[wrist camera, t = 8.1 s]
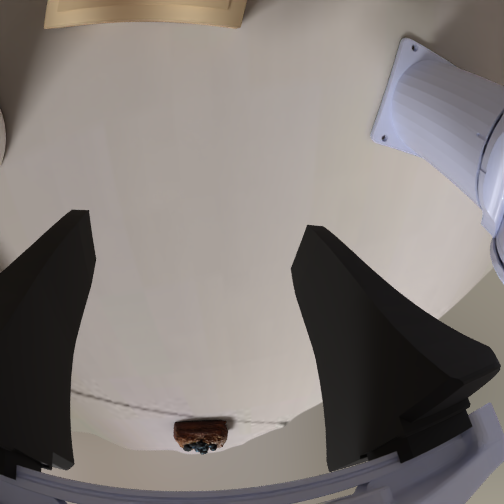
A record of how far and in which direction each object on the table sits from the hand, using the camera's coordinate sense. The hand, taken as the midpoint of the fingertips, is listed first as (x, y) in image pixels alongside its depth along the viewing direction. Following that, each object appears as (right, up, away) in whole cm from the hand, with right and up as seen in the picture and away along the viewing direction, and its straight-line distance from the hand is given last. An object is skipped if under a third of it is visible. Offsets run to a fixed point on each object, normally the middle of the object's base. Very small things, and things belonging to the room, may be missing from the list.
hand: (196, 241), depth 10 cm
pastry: (-9, -36, +44) cm, 57 cm away
